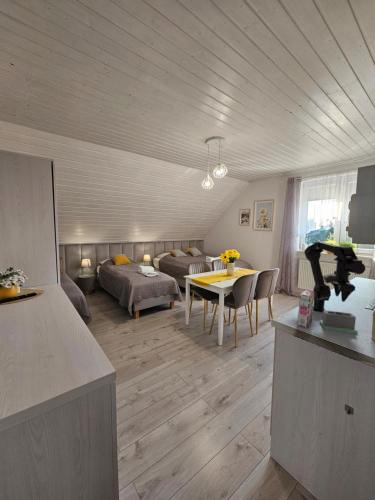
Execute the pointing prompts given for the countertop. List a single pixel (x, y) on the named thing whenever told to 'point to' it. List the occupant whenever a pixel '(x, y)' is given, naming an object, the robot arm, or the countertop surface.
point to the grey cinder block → (339, 319)
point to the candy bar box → (305, 308)
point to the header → (338, 328)
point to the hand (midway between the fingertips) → (339, 298)
